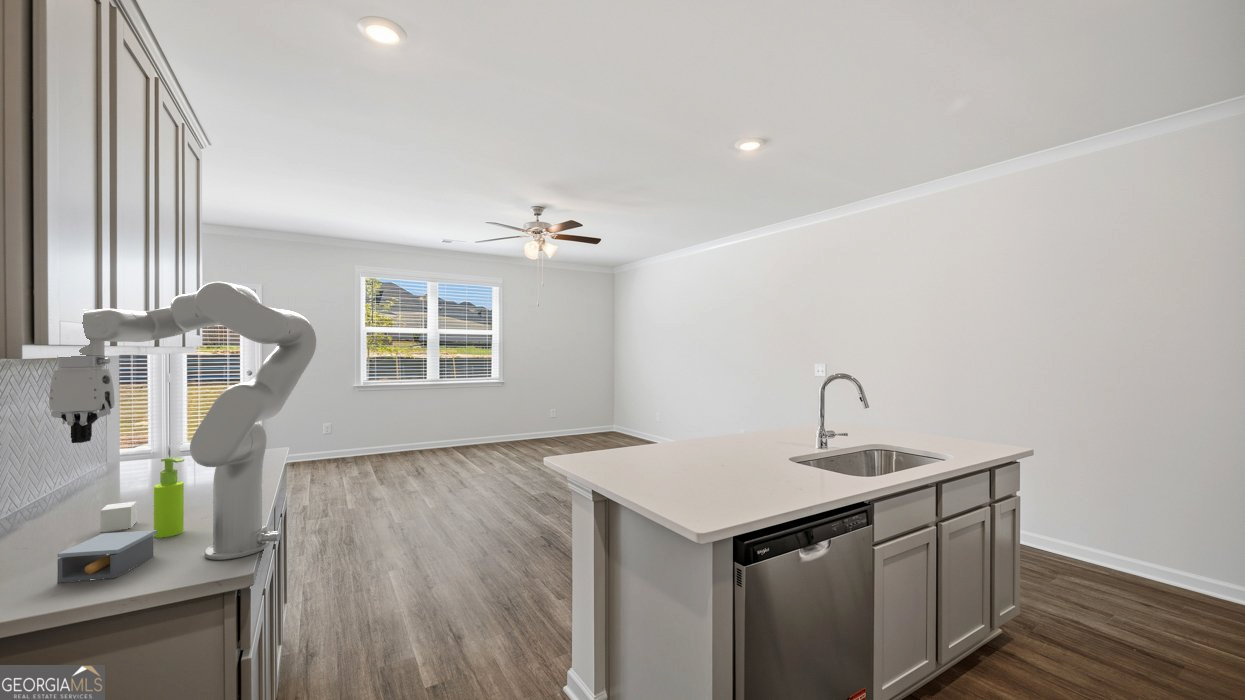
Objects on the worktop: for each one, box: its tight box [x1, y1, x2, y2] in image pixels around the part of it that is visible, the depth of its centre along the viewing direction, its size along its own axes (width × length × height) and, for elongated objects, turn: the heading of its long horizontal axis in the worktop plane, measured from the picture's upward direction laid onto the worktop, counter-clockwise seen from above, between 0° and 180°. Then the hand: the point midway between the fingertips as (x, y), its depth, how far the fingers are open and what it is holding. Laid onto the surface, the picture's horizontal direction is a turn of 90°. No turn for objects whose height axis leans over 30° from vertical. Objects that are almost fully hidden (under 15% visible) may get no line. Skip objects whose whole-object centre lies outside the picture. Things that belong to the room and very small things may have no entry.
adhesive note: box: [99, 500, 138, 534], centre depth 139 cm, size 6×6×6 cm
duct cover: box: [57, 529, 157, 559], centre depth 113 cm, size 11×12×1 cm
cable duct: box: [56, 535, 154, 584], centre depth 113 cm, size 10×12×5 cm
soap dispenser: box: [153, 457, 185, 539], centre depth 134 cm, size 6×7×20 cm
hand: (81, 441), depth 118 cm, fingers closed
